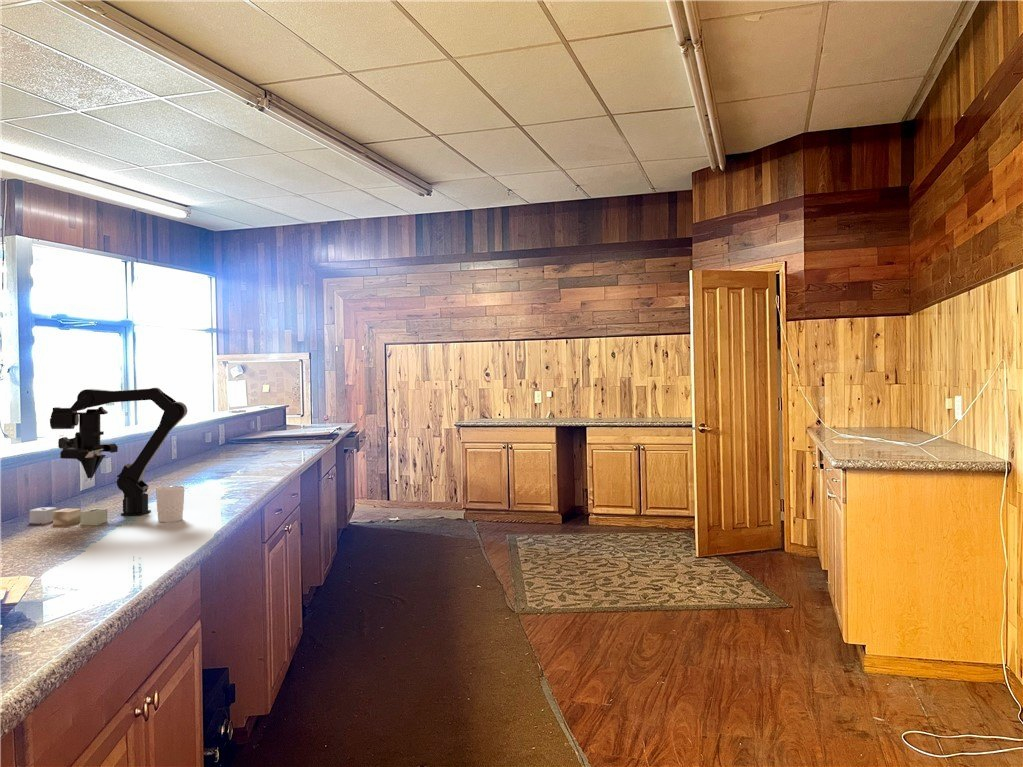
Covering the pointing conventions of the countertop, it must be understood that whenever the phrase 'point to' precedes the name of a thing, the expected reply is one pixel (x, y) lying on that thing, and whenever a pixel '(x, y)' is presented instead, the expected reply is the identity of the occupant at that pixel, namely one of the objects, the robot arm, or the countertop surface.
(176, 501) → the white cup
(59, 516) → the birch block
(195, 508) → the countertop surface
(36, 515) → the white die
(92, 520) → the sage block one
